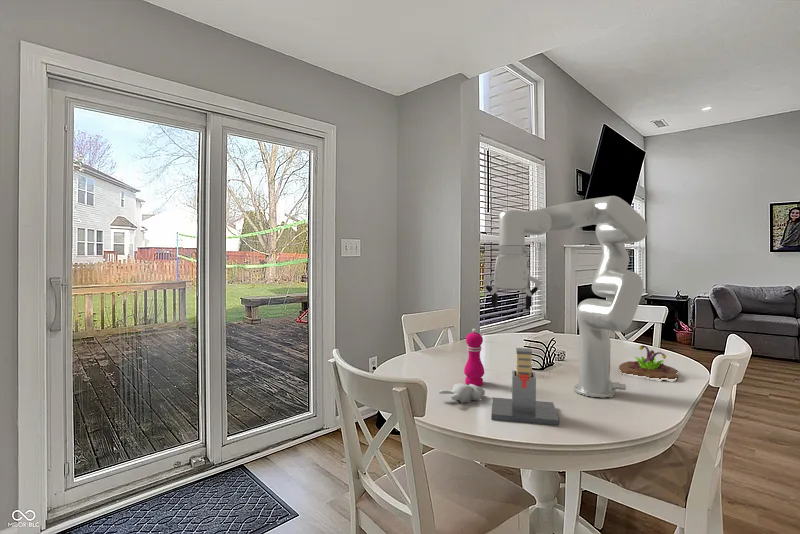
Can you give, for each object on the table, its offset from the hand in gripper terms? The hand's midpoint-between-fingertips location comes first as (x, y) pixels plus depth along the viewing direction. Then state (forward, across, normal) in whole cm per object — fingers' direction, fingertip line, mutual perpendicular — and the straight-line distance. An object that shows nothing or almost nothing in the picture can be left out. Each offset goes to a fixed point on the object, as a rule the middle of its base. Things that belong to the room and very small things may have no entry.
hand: (511, 308), depth 128 cm
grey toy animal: (+31, +15, 0) cm, 34 cm away
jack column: (+28, -4, +4) cm, 29 cm away
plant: (+31, -42, -59) cm, 79 cm away
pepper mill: (+31, +16, -18) cm, 39 cm away
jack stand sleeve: (+30, -4, +4) cm, 31 cm away
